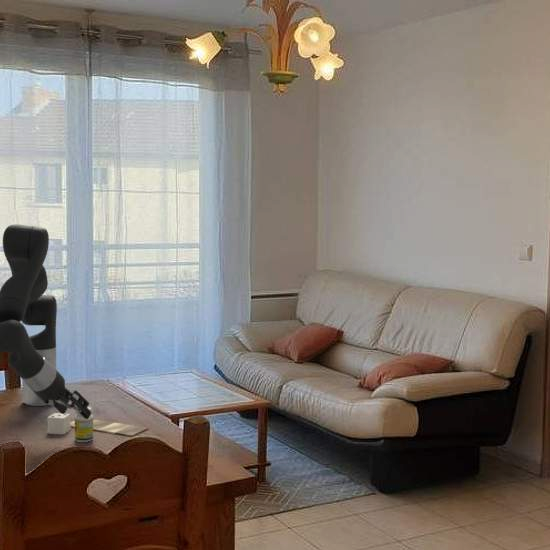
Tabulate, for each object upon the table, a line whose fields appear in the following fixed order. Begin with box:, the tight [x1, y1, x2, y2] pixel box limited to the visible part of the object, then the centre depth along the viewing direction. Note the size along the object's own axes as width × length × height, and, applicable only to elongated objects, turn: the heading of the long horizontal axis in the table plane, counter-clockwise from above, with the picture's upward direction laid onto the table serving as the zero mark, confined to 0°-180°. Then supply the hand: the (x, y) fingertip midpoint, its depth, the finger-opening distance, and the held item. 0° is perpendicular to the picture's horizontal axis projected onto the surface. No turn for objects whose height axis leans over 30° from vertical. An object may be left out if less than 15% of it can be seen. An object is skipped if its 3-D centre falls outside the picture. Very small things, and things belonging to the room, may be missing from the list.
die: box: [47, 412, 71, 435], centre depth 219 cm, size 4×4×5 cm
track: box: [70, 418, 149, 438], centre depth 224 cm, size 22×8×1 cm, turn 66°
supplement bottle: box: [74, 406, 94, 443], centre depth 212 cm, size 5×5×8 cm
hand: (76, 413), depth 210 cm, fingers open, 8 cm apart
